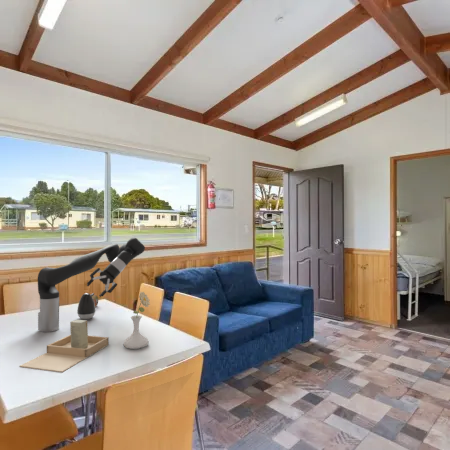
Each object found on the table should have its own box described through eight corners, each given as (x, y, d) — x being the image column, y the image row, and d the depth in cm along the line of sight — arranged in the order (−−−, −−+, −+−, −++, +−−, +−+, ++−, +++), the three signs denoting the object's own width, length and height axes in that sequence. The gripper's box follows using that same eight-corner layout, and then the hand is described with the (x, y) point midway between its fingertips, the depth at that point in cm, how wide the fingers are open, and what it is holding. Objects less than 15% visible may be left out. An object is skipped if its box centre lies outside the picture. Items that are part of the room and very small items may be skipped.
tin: (85, 311, 215) (85, 298, 215) (81, 311, 216) (81, 298, 216) (98, 306, 230) (98, 293, 230) (94, 305, 230) (94, 293, 230)
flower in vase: (135, 353, 145) (135, 296, 145) (118, 348, 151) (118, 293, 151) (156, 344, 156) (156, 291, 156) (139, 339, 162) (139, 288, 162)
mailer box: (19, 366, 131) (19, 357, 131) (72, 341, 160) (72, 333, 160) (62, 372, 126) (62, 363, 126) (108, 344, 155) (108, 337, 155)
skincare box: (88, 347, 150) (88, 320, 151) (81, 350, 146) (81, 322, 146) (77, 345, 153) (77, 318, 153) (69, 348, 149) (70, 321, 149)
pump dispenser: (99, 317, 201) (99, 292, 201) (84, 321, 192) (84, 295, 192) (88, 315, 206) (89, 290, 206) (73, 318, 198) (73, 293, 198)
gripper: (107, 258, 175) (84, 282, 167) (126, 276, 179) (105, 300, 172) (104, 259, 181) (81, 282, 174) (122, 276, 186) (102, 299, 178)
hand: (93, 291), depth 173 cm, fingers open, 8 cm apart
